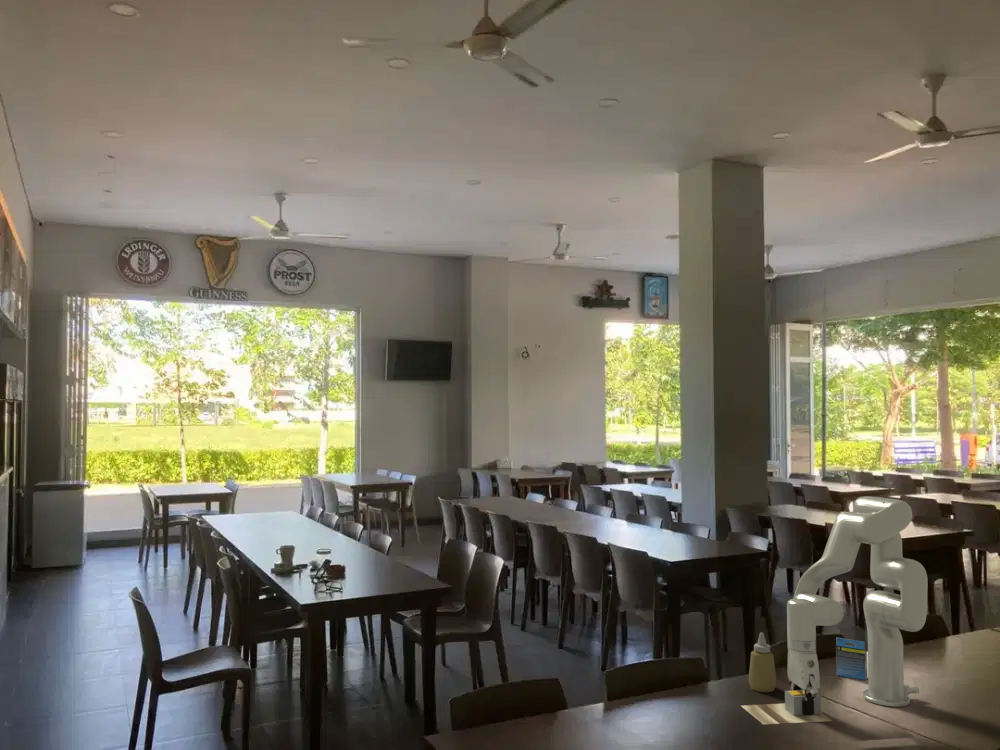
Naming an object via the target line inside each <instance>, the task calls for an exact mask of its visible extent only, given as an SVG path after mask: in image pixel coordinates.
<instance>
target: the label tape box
mask: <svg viewBox="0 0 1000 750" xmlns="http://www.w3.org/2000/svg"><path fill="white" fill-rule="evenodd" d="M835 640H836V646H835V655H836V656H835V657H836V660H835V661H836V676H837V675H840V676H839V677H842V676H845V677H844V678H848V677H851V678H850V679H855V678H856V680H862V681H867V680H868V679H867V678H868V651H866V642H865V641H861V640H855V639H849V638H841V637H836V638H835ZM850 643H851V644H852V645H851V644H850Z"/></svg>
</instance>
